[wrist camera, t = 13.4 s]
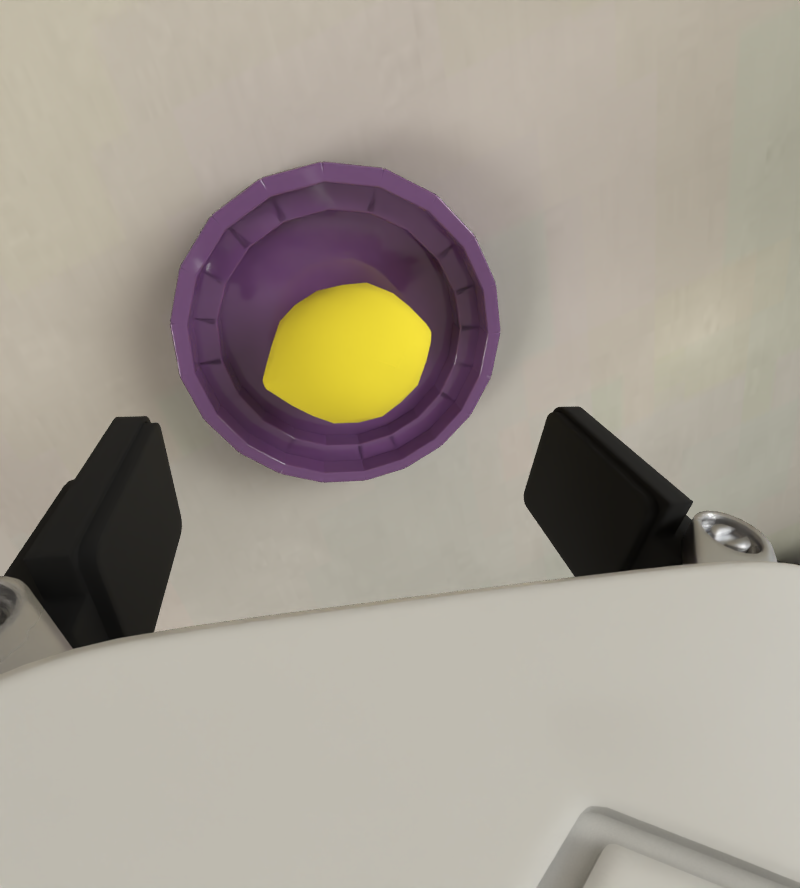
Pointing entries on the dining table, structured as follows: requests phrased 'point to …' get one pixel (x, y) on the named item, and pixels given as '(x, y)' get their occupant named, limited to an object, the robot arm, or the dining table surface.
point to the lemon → (347, 353)
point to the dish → (320, 267)
